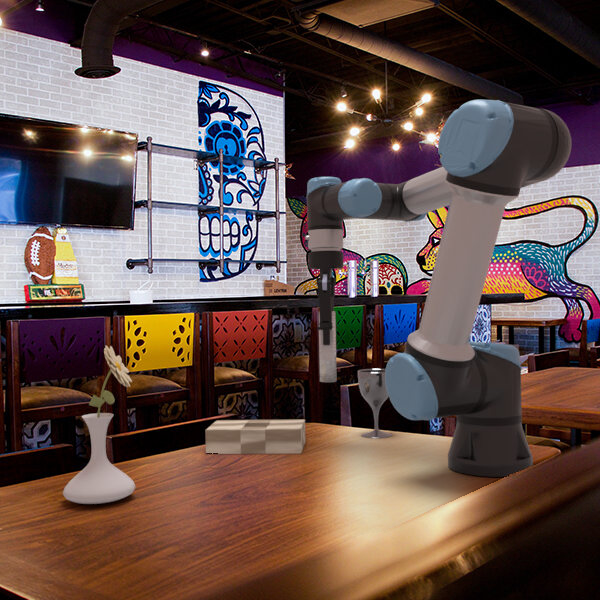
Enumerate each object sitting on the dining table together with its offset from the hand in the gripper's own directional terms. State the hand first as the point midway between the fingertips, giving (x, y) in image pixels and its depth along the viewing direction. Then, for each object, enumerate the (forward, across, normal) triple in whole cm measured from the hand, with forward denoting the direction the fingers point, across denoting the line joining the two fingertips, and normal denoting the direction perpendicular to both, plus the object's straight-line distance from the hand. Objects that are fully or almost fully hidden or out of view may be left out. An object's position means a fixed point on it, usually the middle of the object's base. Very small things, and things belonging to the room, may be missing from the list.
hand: (327, 359), depth 153 cm
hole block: (+19, +1, -16) cm, 25 cm away
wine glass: (+19, -13, +10) cm, 25 cm away
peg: (+5, 0, 0) cm, 5 cm away
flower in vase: (+19, +40, -35) cm, 56 cm away
